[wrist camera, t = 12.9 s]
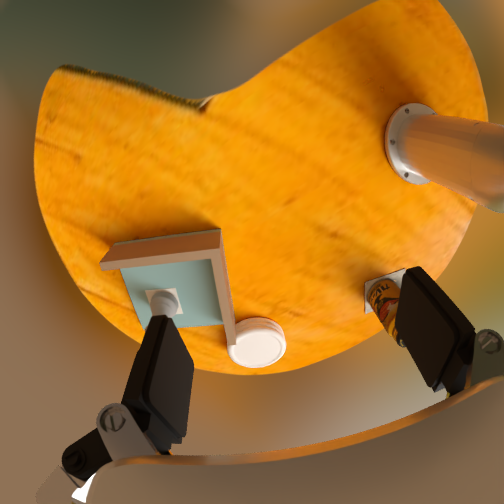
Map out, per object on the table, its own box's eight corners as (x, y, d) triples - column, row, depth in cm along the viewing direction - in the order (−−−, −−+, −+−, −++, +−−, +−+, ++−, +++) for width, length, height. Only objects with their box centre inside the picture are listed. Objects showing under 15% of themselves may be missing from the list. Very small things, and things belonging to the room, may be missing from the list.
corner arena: (220, 228, 37) (219, 248, 31) (235, 318, 44) (236, 344, 39) (114, 242, 36) (99, 262, 31) (144, 325, 44) (136, 350, 38)
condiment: (364, 282, 43) (396, 328, 32) (404, 267, 43) (442, 307, 32) (364, 313, 46) (391, 359, 36) (402, 298, 46) (434, 339, 35)
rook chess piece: (181, 293, 40) (173, 329, 33) (177, 315, 42) (169, 351, 34) (152, 286, 39) (139, 321, 32) (150, 309, 41) (138, 344, 34)
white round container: (272, 307, 44) (275, 321, 41) (290, 344, 48) (293, 358, 45) (217, 327, 45) (216, 341, 42) (240, 360, 49) (241, 374, 46)
